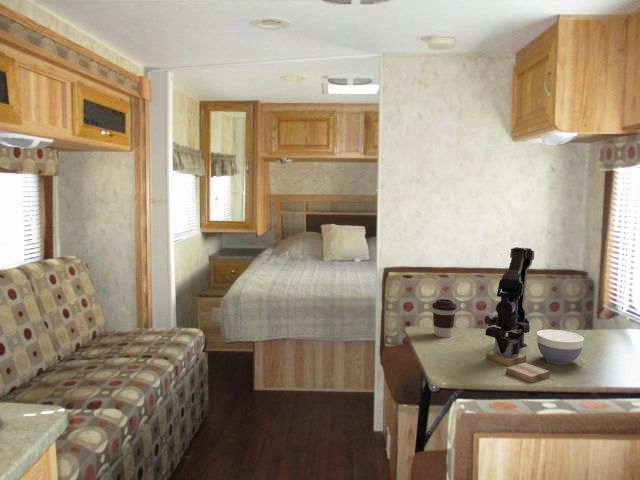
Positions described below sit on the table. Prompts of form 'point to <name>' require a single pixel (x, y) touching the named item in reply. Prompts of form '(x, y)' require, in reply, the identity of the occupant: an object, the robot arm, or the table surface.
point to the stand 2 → (527, 372)
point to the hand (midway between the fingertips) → (506, 352)
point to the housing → (509, 348)
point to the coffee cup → (443, 317)
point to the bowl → (559, 346)
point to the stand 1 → (506, 358)
